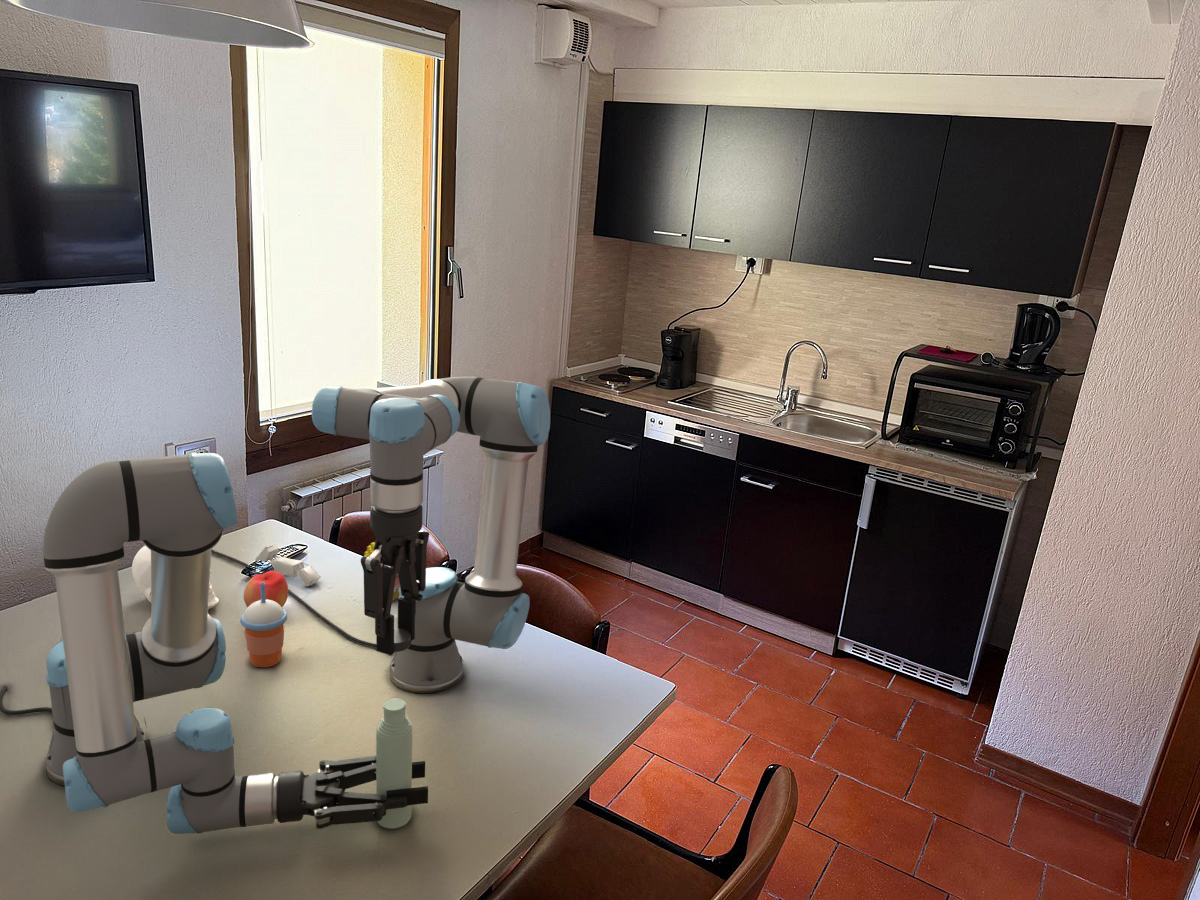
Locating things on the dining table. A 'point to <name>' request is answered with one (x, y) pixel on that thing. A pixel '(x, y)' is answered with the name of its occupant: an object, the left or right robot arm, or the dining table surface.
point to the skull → (143, 575)
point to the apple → (267, 588)
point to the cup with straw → (264, 631)
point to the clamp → (288, 565)
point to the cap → (401, 639)
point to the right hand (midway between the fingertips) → (395, 644)
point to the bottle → (394, 759)
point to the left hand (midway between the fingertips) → (426, 781)
